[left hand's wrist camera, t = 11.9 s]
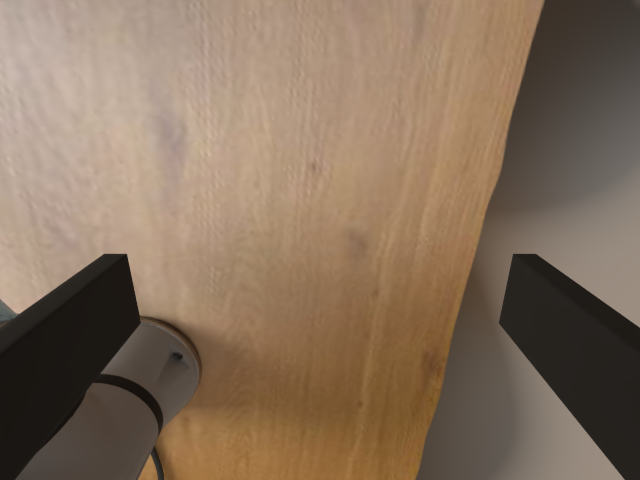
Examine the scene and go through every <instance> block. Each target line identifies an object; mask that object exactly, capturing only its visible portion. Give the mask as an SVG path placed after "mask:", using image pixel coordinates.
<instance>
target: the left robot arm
mask: <svg viewBox="0 0 640 480" xmlns="http://www.w3.org/2000/svg"><path fill="white" fill-rule="evenodd" d="M499 324H500V325H501V326H502V328H503V329H504V330H505V331H506V333H507V334H508V335H509V336H510V337H511V339H512V340H513V341H514V342H515V344H516V345H517V346H518V347H519V349H520V350H521V351H522V352H523V354H524V355H525V356H526V357H527V359H528V360H529V361H530V362H531V364H532V365H533V366H534V367H535V369H536V370H537V371H538V372H539V374H540V375H541V376H542V377H543V379H544V380H545V381H546V382H547V383H548V385H549V386H550V387H551V388H552V390H553V391H554V392H555V393H556V395H557V396H558V397H559V398H560V400H561V401H562V402H563V403H564V405H565V406H566V407H567V408H568V410H569V411H570V412H571V413H572V415H573V416H574V417H575V418H576V420H577V421H578V422H579V423H580V425H581V426H582V427H583V428H584V429H585V431H586V432H587V433H588V434H589V436H590V437H591V438H592V439H593V441H594V442H595V443H596V444H597V446H598V447H599V448H600V449H601V451H602V452H603V453H604V454H605V456H606V457H607V458H608V459H609V460H610V462H611V463H612V464H613V466H614V467H615V468H616V469H617V470H618V472H619V473H620V474H621V475H622V477H623V478H624V479H625V480H640V328H639V327H638V326H636V325H635V324H634V323H632V322H631V321H629V320H628V319H627V318H625V317H624V316H622V315H621V314H620V313H618V312H617V311H615V310H614V309H612V308H611V307H610V306H608V305H607V304H606V303H604V302H603V301H601V300H600V299H598V298H597V297H596V296H594V295H593V294H591V293H590V292H589V291H587V290H586V289H584V288H583V287H582V286H580V285H579V284H577V283H576V282H575V281H573V280H572V279H570V278H569V277H567V276H566V275H565V274H563V273H562V272H560V271H559V270H558V269H556V268H555V267H553V266H552V265H551V264H549V263H548V262H546V261H545V260H544V259H542V258H541V257H539V256H538V255H537V254H513V257H512V262H511V267H510V272H509V277H508V282H507V286H506V291H505V296H504V301H503V306H502V311H501V315H500V320H499ZM200 378H201V361H200V358H199V355H198V353H197V351H196V349H195V347H194V346H193V344H192V343H191V342H190V341H189V340H188V338H187V337H186V336H184V335H183V334H182V333H181V332H180V331H178V330H177V329H175V328H174V327H172V326H170V325H168V324H166V323H164V322H162V321H159V320H155V319H152V318H146V317H140V315H139V311H138V306H137V301H136V296H135V291H134V286H133V282H132V277H131V272H130V267H129V262H128V257H127V254H103V255H102V256H101V257H99V258H98V259H96V260H95V261H94V262H92V263H91V264H89V265H88V266H87V267H85V268H84V269H82V270H81V271H80V272H78V273H77V274H75V275H74V276H72V277H71V278H70V279H68V280H67V281H65V282H64V283H63V284H61V285H60V286H58V287H57V288H56V289H54V290H53V291H51V292H50V293H49V294H47V295H46V296H44V297H43V298H42V299H40V300H39V301H37V302H36V303H34V304H33V305H32V306H30V307H29V308H27V309H26V310H25V311H23V312H22V313H20V314H17V313H15V312H14V311H13V310H12V309H11V308H9V307H8V306H7V305H6V304H5V303H4V302H3V301H2V300H1V299H0V480H138V478H139V476H140V474H141V472H142V470H143V468H144V466H145V464H146V462H147V460H148V457H149V455H150V454H151V456H152V458H153V461H154V464H155V466H156V470H157V474H158V480H164V474H163V469H162V466H161V463H160V460H159V457H158V455H157V452H156V450H155V447H154V445H155V443H156V440H157V438H158V436H159V434H160V432H161V430H162V428H163V427H164V426H165V425H166V424H167V423H168V422H169V421H170V420H171V419H172V418H173V417H174V416H175V415H176V414H177V413H178V412H179V411H180V410H181V409H182V408H183V407H184V406H185V405H186V404H187V403H188V402H189V400H190V399H191V397H192V396H193V394H194V393H195V391H196V388H197V386H198V384H199V381H200Z"/></svg>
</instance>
